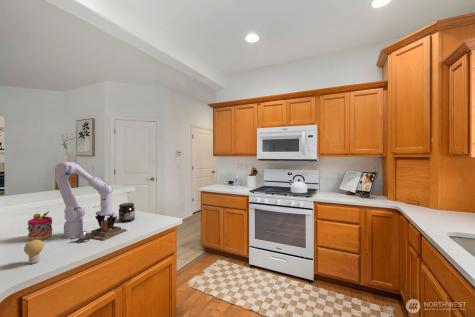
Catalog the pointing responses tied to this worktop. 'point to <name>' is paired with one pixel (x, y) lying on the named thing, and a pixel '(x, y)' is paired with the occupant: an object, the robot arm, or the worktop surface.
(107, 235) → the holder board
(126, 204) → the supplement container
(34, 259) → the light bulb
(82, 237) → the metal door knob
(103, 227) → the plug block
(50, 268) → the worktop surface
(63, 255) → the worktop surface
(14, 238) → the worktop surface
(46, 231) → the cake
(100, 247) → the worktop surface
